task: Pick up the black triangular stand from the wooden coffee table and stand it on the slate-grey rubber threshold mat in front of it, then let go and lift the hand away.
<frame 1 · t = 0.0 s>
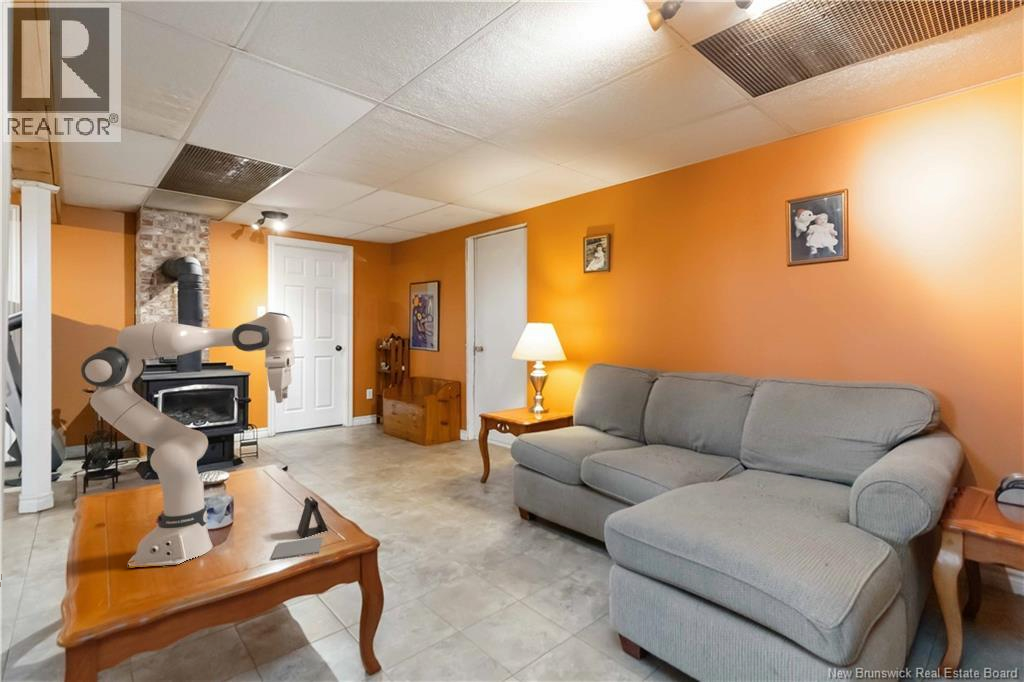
hand: (282, 400, 167), 48 cm above the table, tool pointing down, fingers open, 8 cm apart
threshold mat: (298, 549, 161), on the table
black triangular stand: (312, 532, 173), on the table
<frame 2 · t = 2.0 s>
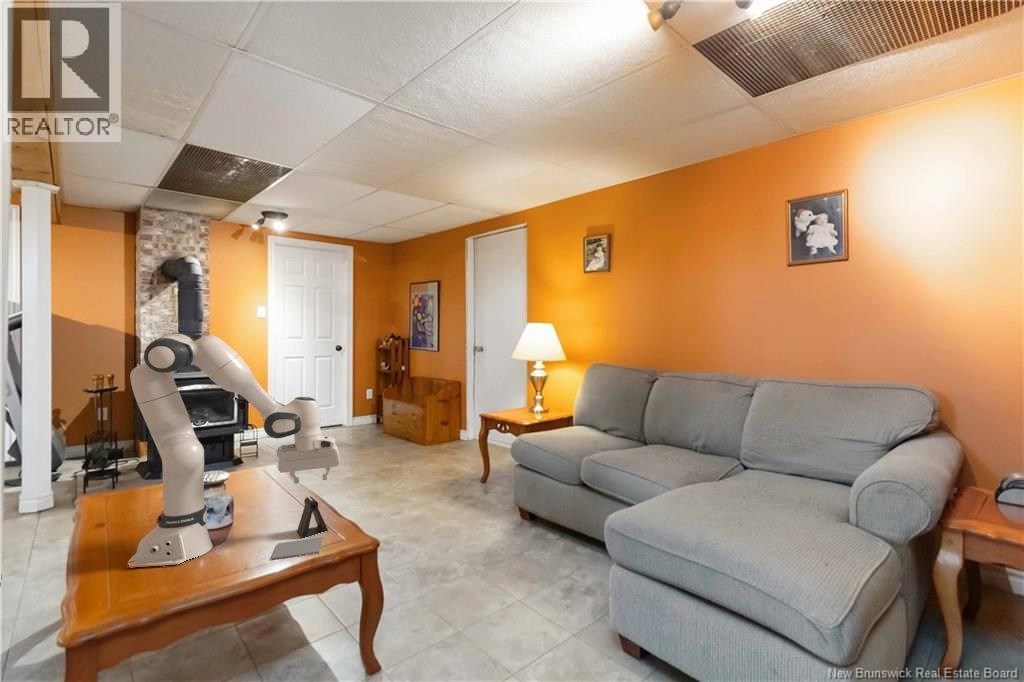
hand: (311, 481, 173), 18 cm above the table, tool pointing down, fingers open, 8 cm apart
nothing on the table moved.
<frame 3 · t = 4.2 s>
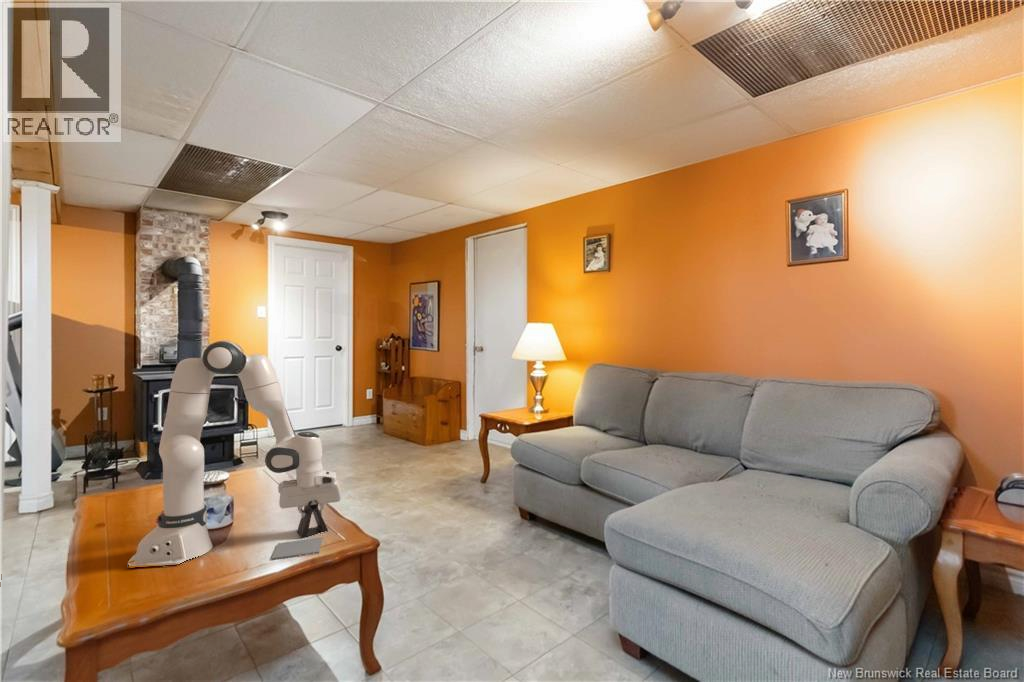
hand: (311, 516, 173), 6 cm above the table, tool pointing down, fingers closed on black triangular stand, 4 cm apart
black triangular stand: (312, 532, 173), on the table, touching gripper
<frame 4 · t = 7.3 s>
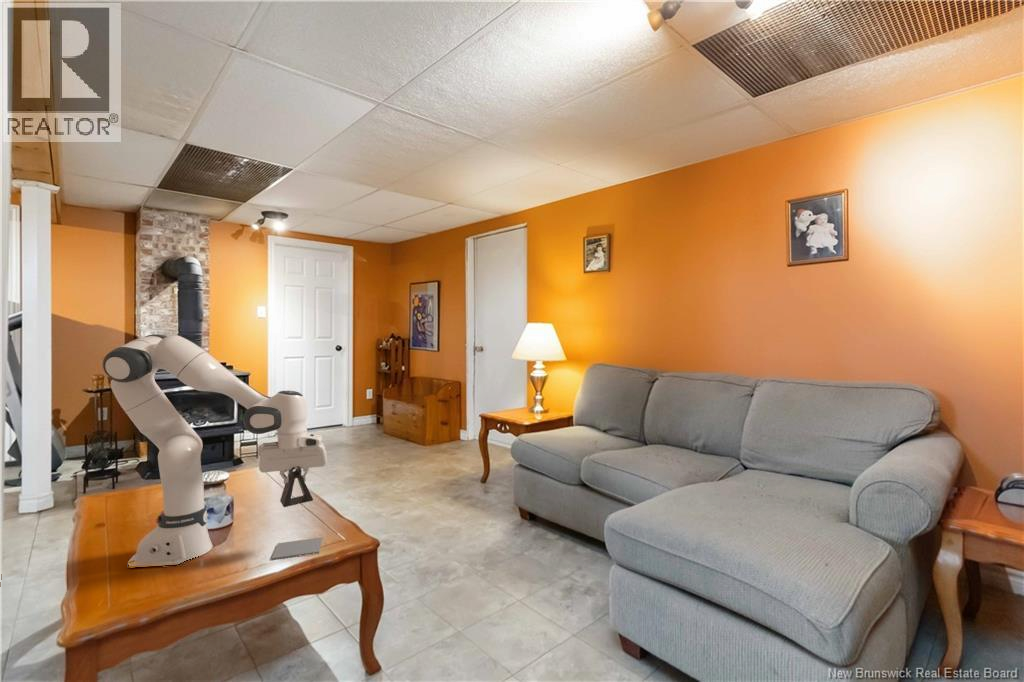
hand: (294, 482, 160), 22 cm above the table, tool pointing down, fingers closed on black triangular stand, 3 cm apart
black triangular stand: (296, 501, 160), point 16 cm above the table, touching gripper
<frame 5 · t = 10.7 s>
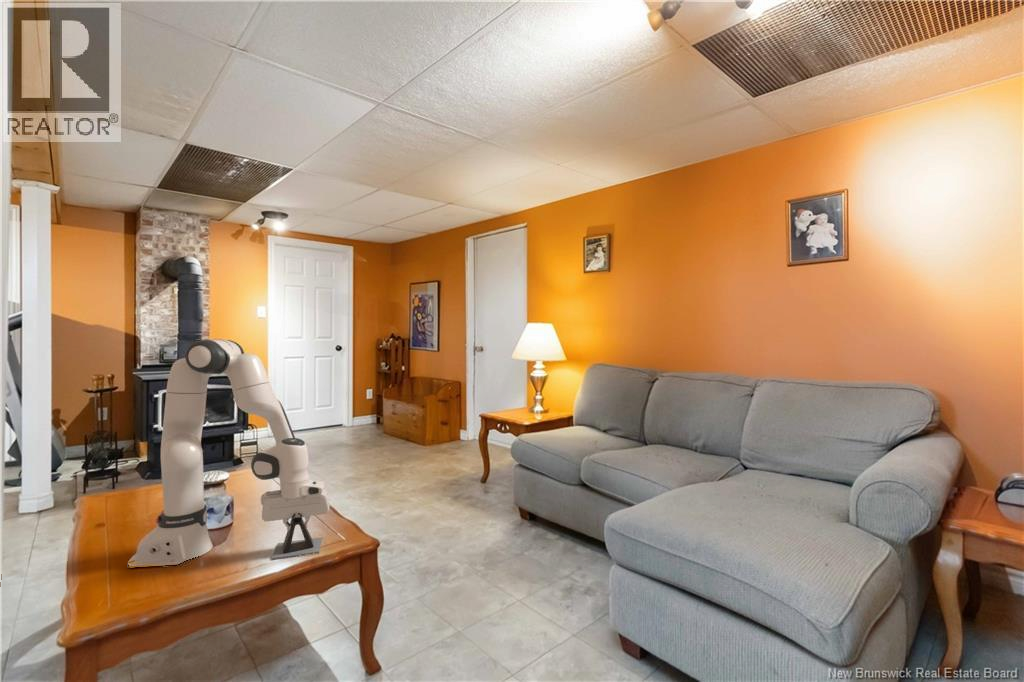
hand: (297, 530, 160), 6 cm above the table, tool pointing down, fingers closed on black triangular stand, 3 cm apart
black triangular stand: (298, 547, 161), resting on threshold mat, touching gripper
when the fingers open (6 cm above the table, at t = 10.7 s): black triangular stand stays where it is, resting on threshold mat.
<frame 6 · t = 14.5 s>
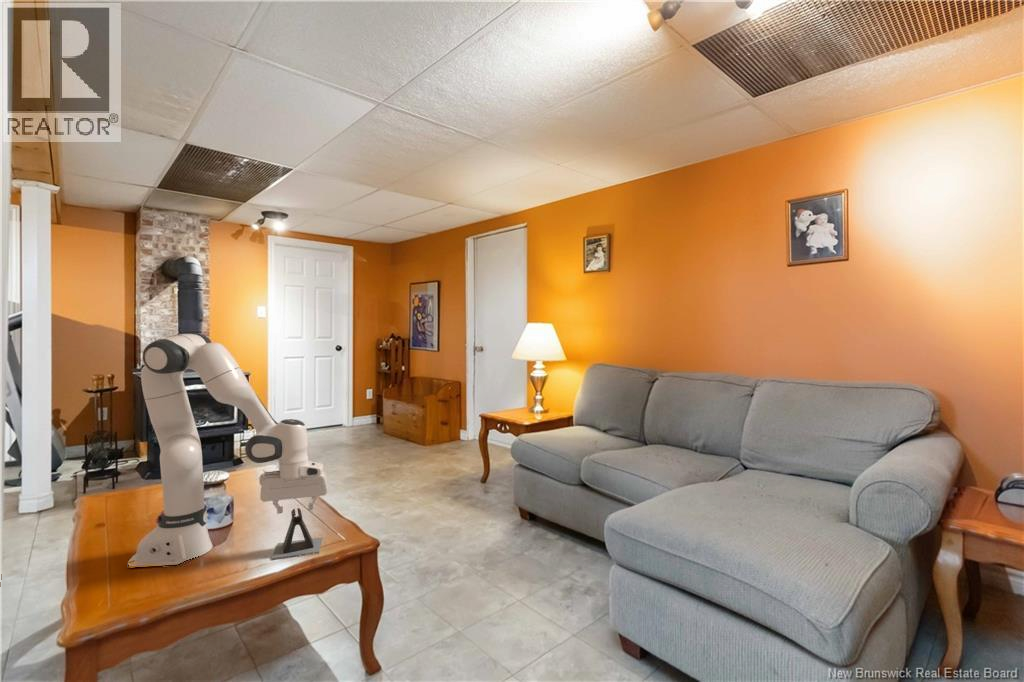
hand: (295, 511, 160), 13 cm above the table, tool pointing down, fingers open, 8 cm apart
black triangular stand: (298, 547, 161), resting on threshold mat
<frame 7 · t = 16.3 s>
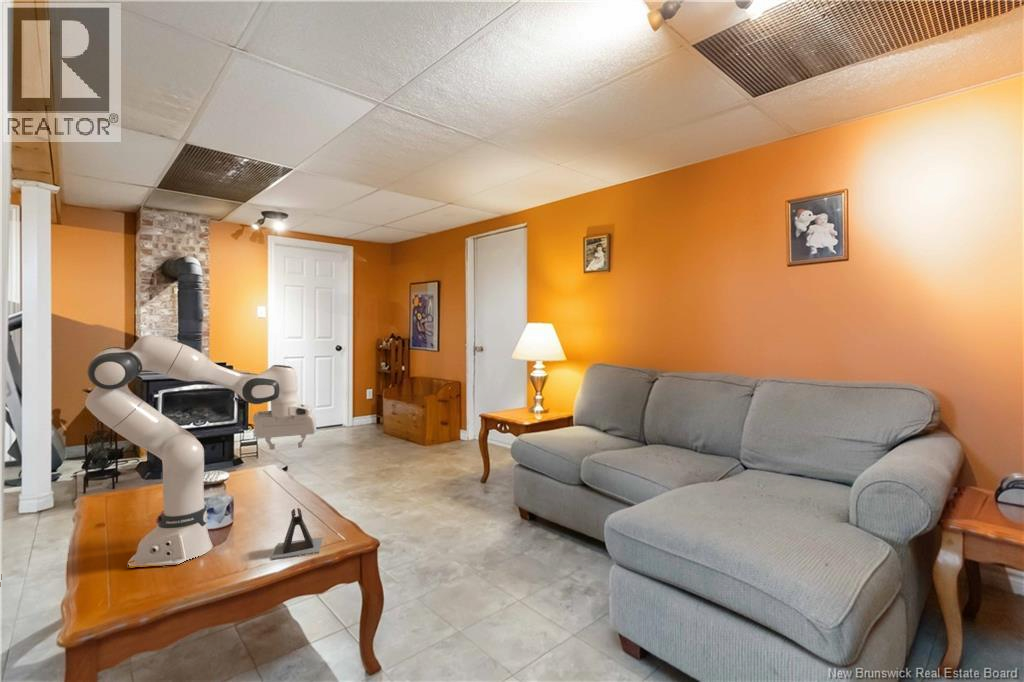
hand: (286, 448, 175), 29 cm above the table, tool pointing down, fingers open, 8 cm apart
nothing on the table moved.
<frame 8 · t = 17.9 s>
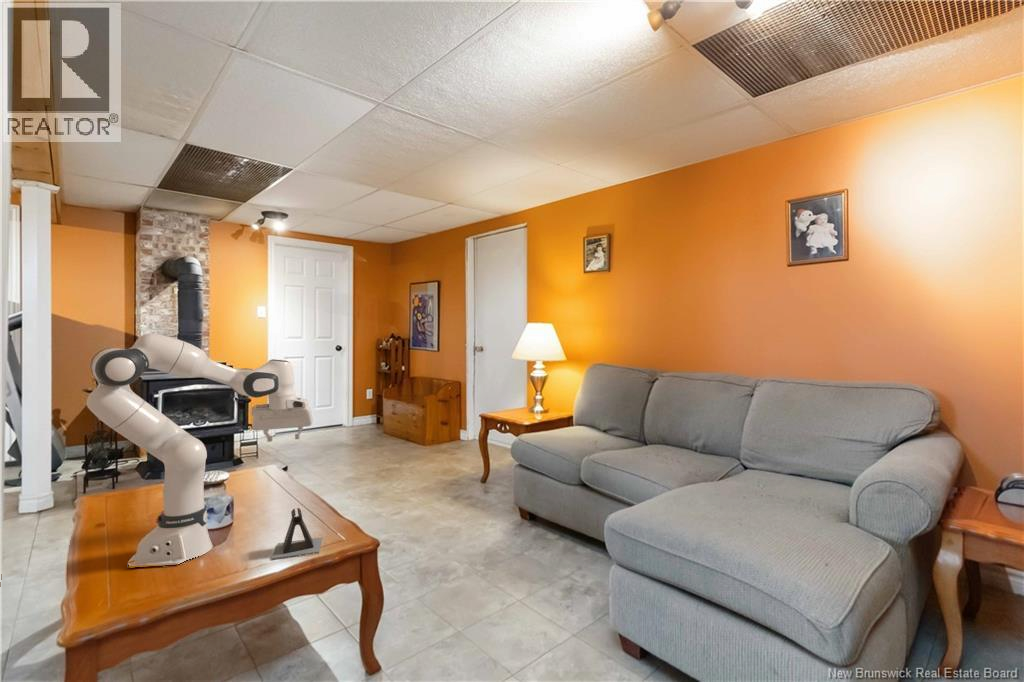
hand: (283, 440, 181), 31 cm above the table, tool pointing down, fingers open, 8 cm apart
nothing on the table moved.
at the end: black triangular stand inside the target area (0.1 cm from its centre), resting on threshold mat; black triangular stand tilted 0°; the gripper is holding nothing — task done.
